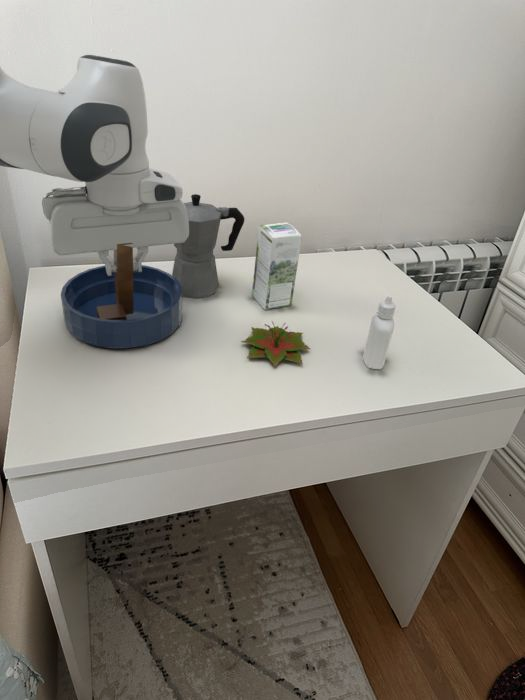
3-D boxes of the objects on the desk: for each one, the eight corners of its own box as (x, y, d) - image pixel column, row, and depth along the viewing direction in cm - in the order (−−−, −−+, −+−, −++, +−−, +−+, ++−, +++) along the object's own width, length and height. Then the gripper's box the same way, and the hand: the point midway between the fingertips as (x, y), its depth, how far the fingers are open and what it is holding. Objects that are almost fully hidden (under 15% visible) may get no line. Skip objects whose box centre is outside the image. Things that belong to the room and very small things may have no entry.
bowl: (75, 361, 81) (71, 330, 77) (58, 299, 94) (53, 271, 91) (196, 339, 88) (197, 310, 85) (163, 284, 102) (163, 258, 99)
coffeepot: (161, 300, 97) (159, 204, 86) (157, 276, 104) (154, 185, 94) (244, 297, 100) (251, 204, 90) (235, 273, 108) (240, 185, 97)
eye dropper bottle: (392, 357, 88) (410, 294, 81) (378, 373, 84) (395, 308, 78) (368, 347, 90) (383, 284, 83) (353, 362, 86) (368, 298, 79)
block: (102, 340, 84) (100, 319, 82) (98, 327, 87) (96, 306, 85) (128, 337, 86) (126, 316, 83) (123, 323, 89) (121, 303, 86)
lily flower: (311, 332, 93) (315, 309, 90) (312, 374, 83) (316, 350, 80) (242, 324, 93) (244, 302, 90) (235, 366, 83) (237, 342, 80)
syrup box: (278, 291, 103) (286, 220, 95) (292, 306, 99) (302, 233, 91) (251, 296, 101) (257, 223, 93) (265, 311, 97) (273, 237, 88)
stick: (119, 315, 88) (116, 244, 78) (115, 306, 90) (112, 235, 80) (133, 313, 89) (132, 242, 79) (130, 304, 90) (128, 233, 81)
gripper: (42, 197, 69) (57, 291, 77) (193, 187, 77) (192, 273, 85) (37, 181, 74) (51, 271, 82) (179, 174, 82) (180, 256, 90)
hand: (124, 272), depth 84 cm, fingers closed on stick, 2 cm apart
